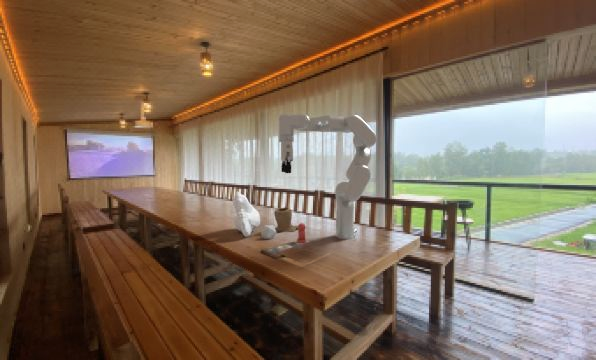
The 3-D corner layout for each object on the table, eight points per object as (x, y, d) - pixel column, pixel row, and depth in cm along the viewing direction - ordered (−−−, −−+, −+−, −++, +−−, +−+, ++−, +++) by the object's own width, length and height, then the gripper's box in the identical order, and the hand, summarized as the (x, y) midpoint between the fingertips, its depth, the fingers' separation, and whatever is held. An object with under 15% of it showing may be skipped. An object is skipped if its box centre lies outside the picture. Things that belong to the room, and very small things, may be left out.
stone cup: (270, 233, 157) (270, 208, 156) (278, 228, 169) (278, 205, 168) (294, 236, 153) (295, 210, 152) (301, 230, 164) (301, 206, 163)
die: (270, 244, 140) (279, 228, 142) (256, 235, 141) (266, 220, 143) (271, 245, 148) (280, 230, 150) (258, 236, 149) (267, 222, 151)
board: (298, 239, 145) (298, 237, 145) (315, 244, 137) (315, 242, 137) (261, 252, 127) (261, 249, 127) (278, 258, 118) (278, 255, 118)
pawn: (301, 239, 142) (301, 221, 141) (308, 241, 138) (308, 223, 138) (295, 241, 138) (295, 223, 137) (302, 243, 135) (302, 224, 134)
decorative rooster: (241, 215, 174) (225, 189, 158) (264, 212, 172) (250, 184, 156) (234, 248, 156) (215, 222, 140) (259, 245, 153) (243, 217, 137)
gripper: (297, 138, 129) (297, 173, 130) (290, 140, 145) (290, 171, 147) (281, 137, 127) (281, 173, 128) (276, 140, 144) (276, 171, 145)
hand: (286, 172), depth 138 cm, fingers open, 9 cm apart
